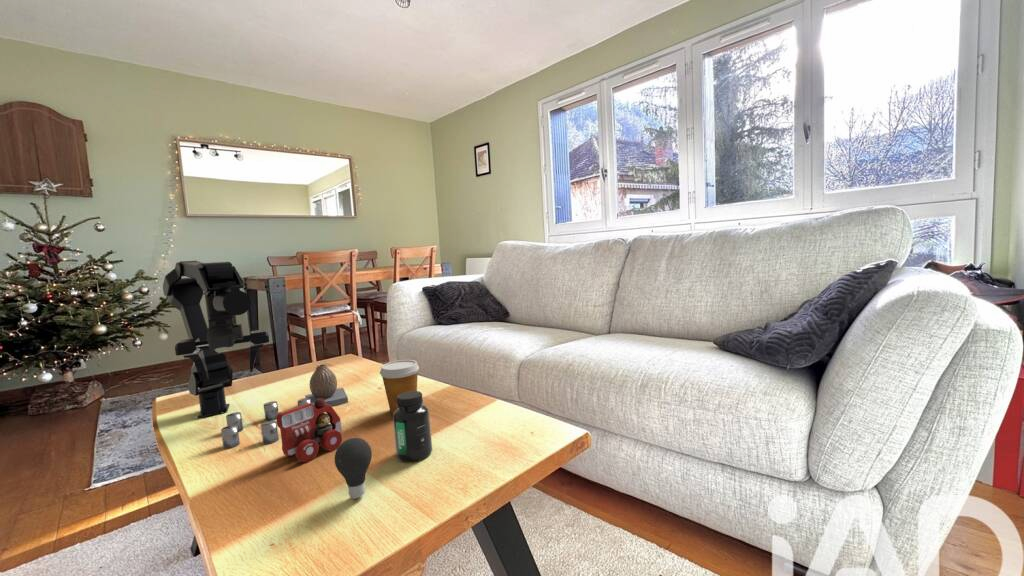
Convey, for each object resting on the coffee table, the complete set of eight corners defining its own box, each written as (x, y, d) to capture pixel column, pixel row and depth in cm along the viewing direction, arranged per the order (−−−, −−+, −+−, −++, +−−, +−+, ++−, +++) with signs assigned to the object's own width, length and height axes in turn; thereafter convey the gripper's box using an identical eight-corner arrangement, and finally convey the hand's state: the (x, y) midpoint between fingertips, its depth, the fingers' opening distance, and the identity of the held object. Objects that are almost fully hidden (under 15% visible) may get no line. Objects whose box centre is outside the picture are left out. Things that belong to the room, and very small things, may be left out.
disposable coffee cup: (430, 407, 105) (426, 361, 104) (402, 421, 97) (397, 372, 96) (404, 401, 110) (400, 357, 109) (375, 415, 102) (370, 367, 101)
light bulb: (345, 490, 70) (339, 433, 69) (379, 486, 70) (373, 430, 69) (334, 510, 64) (327, 449, 63) (370, 506, 65) (364, 445, 64)
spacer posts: (230, 426, 101) (228, 410, 101) (311, 408, 110) (309, 393, 109) (220, 455, 85) (218, 437, 85) (316, 432, 94) (314, 415, 94)
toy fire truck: (351, 442, 88) (346, 395, 87) (292, 470, 78) (286, 417, 77) (332, 435, 92) (327, 390, 91) (274, 461, 82) (268, 410, 81)
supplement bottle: (402, 467, 76) (397, 404, 75) (392, 453, 82) (386, 394, 81) (437, 455, 80) (432, 395, 79) (425, 442, 86) (420, 386, 84)
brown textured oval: (342, 391, 117) (339, 361, 116) (330, 400, 110) (326, 368, 109) (319, 392, 118) (316, 362, 117) (305, 401, 111) (302, 369, 110)
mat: (305, 400, 116) (305, 395, 116) (343, 392, 121) (342, 387, 121) (307, 411, 108) (306, 406, 107) (348, 402, 112) (347, 397, 112)
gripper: (164, 323, 89) (174, 393, 91) (264, 311, 98) (272, 375, 100) (176, 317, 99) (185, 380, 100) (266, 307, 108) (273, 365, 109)
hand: (229, 375), depth 102 cm, fingers open, 9 cm apart
